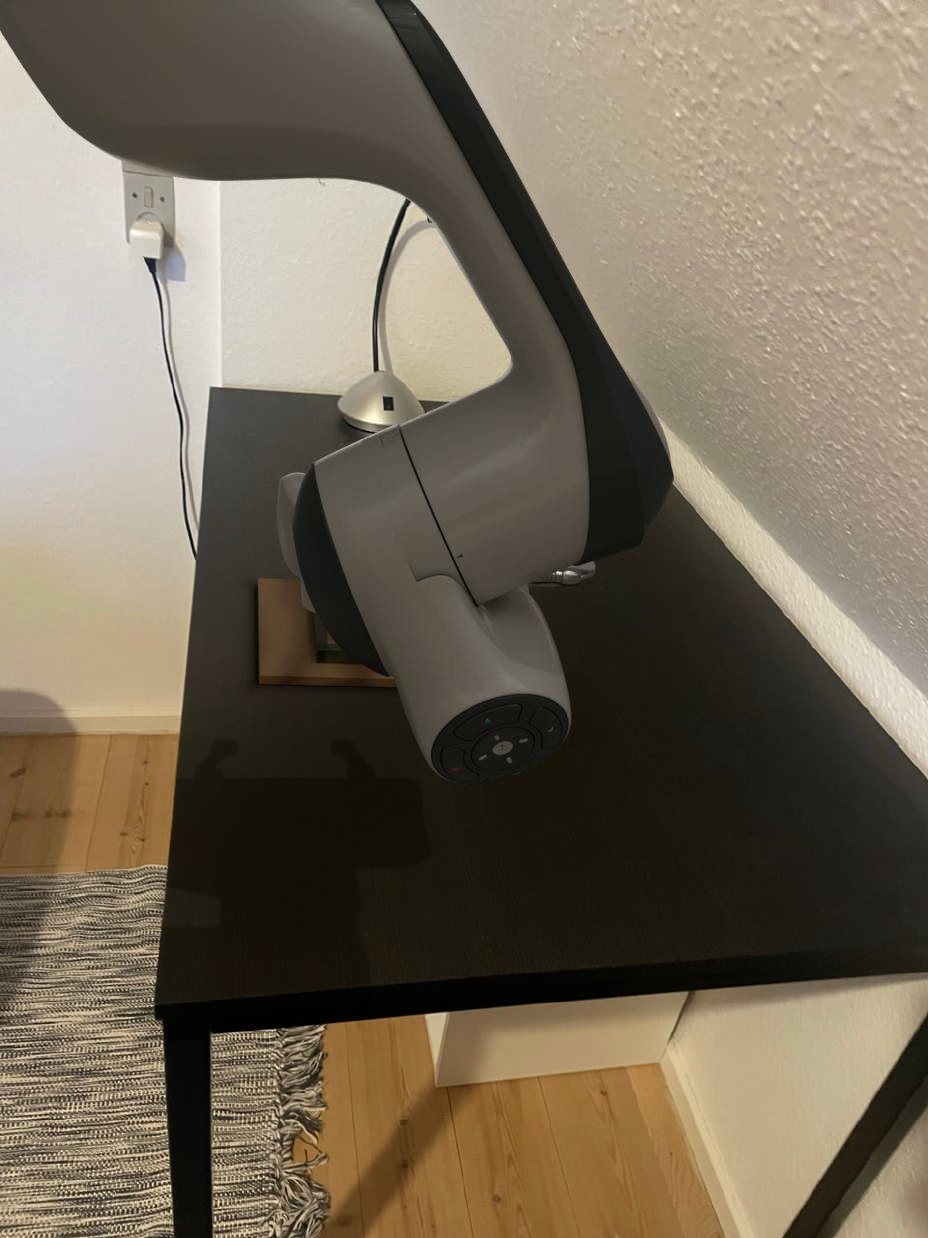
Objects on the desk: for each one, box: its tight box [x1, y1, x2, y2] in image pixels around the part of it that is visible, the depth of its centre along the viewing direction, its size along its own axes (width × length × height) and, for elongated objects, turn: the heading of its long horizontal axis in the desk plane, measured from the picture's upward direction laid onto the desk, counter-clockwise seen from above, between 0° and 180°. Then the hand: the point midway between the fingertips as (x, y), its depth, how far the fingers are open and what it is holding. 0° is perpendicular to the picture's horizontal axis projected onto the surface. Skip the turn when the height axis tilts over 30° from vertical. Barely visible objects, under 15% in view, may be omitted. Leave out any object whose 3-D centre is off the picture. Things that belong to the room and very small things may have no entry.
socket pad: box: [256, 577, 397, 688], centre depth 91 cm, size 20×16×2 cm
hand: (414, 474), depth 69 cm, fingers open, 8 cm apart
